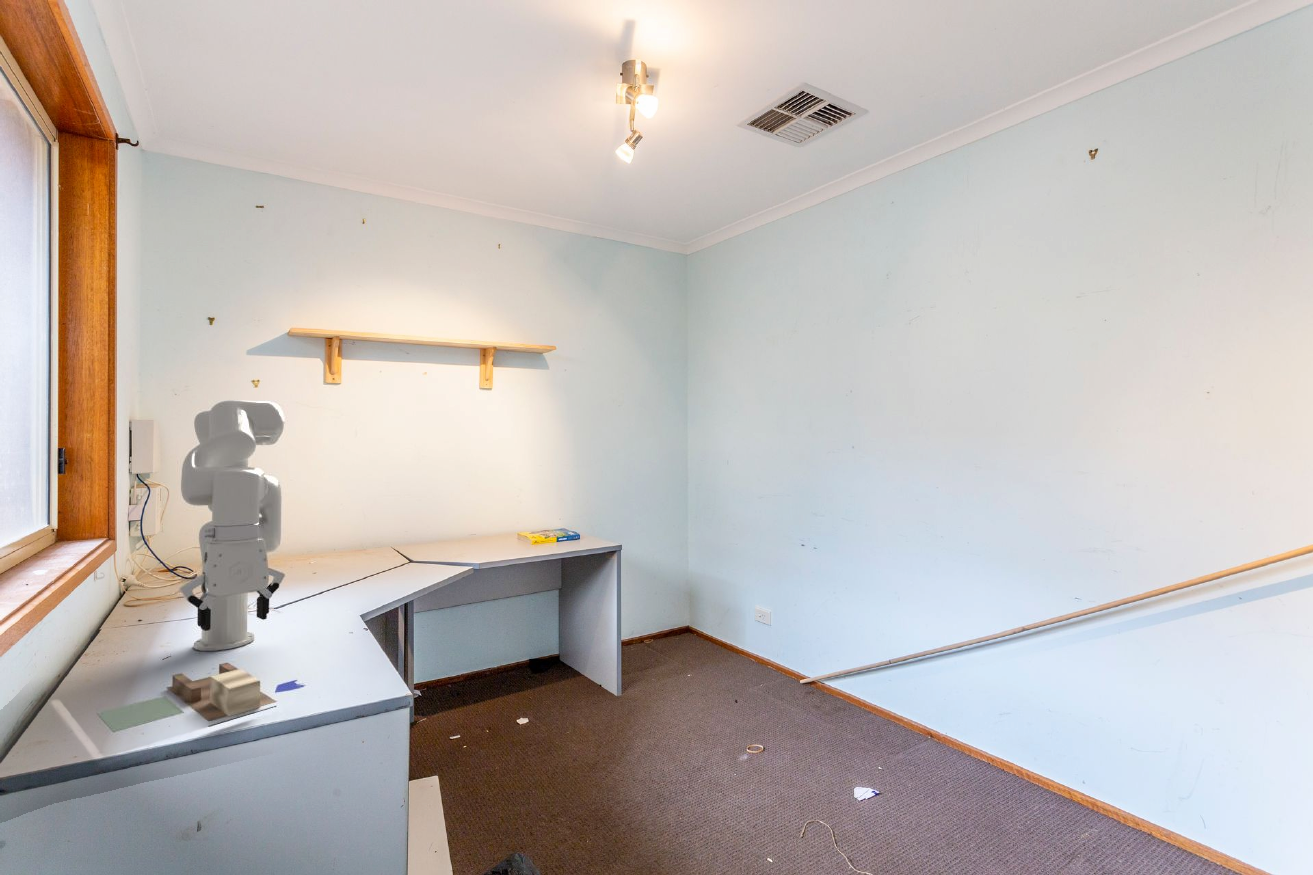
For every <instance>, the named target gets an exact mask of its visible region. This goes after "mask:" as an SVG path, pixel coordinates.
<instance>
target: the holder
mask: <svg viewBox="0 0 1313 875" xmlns="http://www.w3.org/2000/svg"><path fill="white" fill-rule="evenodd" d="M218 668H219V669H218V674H221V673H226V672H230V671H234V670H238V669H239V668H238V667H236V666H234V665H233V664H231V663H229V662H223V663H220V664H219V666H218ZM171 677H172V680H171V681H172V683H171V685H172V686H168V687H166V689H168V690H169V691H170V692H171V693H172V694H174V696H176V697H177V698H179V699H180V700H181V701H182V702H184V703H185V704H186V705H187V706H189V707H190V708H191V709H193V711H195V712H196V713H197V714H199V715H200V716H201V717H202V718H204V719H205V720H206V721H208V722H212V721H216V720H219V719H223V718H225V717H229V716H228V715H226V714H225V713H224V712H222V711H221V710H220V709H218V708H217V707H216V706H214V705H213V704H212V703H210V676H208V677H203V678H200V679H196V680H195V679H194V680H192V679H191V678H189V677H187V676H186V675H185V674H183V672H181V673H177V674H174V675H172V676H171ZM276 702H277V701H276V700H275V699H274V698H272V697H271V696H268V695H267V694H265V692H262V691H261V690H260V707H264V706H267V705H270V704H273V703H276ZM273 708H277V705H274V706H270V707H267V708H264V709H260V710H257V711H254V712H251V713H246V714H244V715H240V716H236V717H234V718H231V719H227V720H224V721H221V722H217V723H215V724H211V725H208V726H207V727H208V728H210V727H213V726H216V725H220V724H222V723H225V722H226V723H227V722H229V721H233V720H236V719H240V718H243V717H246V716H250V715H252V714H256V713H259V712H263V711H266V710H271V709H273Z"/></svg>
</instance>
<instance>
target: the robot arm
mask: <svg viewBox="0 0 1313 875" xmlns="http://www.w3.org/2000/svg"><path fill="white" fill-rule="evenodd" d="M193 423H194V431H195V435H196V437H197V440H198V442H199V444H198V445H195V447H194V448H192V449H191V450H190V451H189V452H188V453H187V455H186V456H185V457H184V460H183V463H182V465H181V466H182V468H181V477H180V478H181V480H180V492H181V497H182V498H183V500H184V501H185V503H187V504H189V505H192V506H195V507H196V506H197V507H199V506H201V507H202V506H203V507H204V506H207V507H208V510H209V511H210V512H211V514H212V515H211V521H207V522H206V523H205V524H202V526H201V528H200V530H199V531H198V532H199V533H198V542H199V543H198V544H199V549H200V556H201V563H202V564H201V566H202V570H201V575H199V576H197V577H195V578H194V579H191V580H190V581H188V582H187V583H185V584H183V585H182V586H180V587H179V592H180V593H181V594H182V596H183V597H184V598H185V599H186V601H187V602H188V603H190V604H192V605H193V606H195V608H197V626H198V627H200V629H201V638H199V639H197V640H196V641H195V642H194V643H193V649H195V650H196V651H201V652H206V651H207V652H214V651H223V650H230V649H234V648H238V647H242V646H245V645H247V644H250V643H252V642H253V641H254V640H255V634H254V633H252V632H250V631H248V610H249V609H248V607H249V606H248V602H249V599H248V596H249V594H248V593H253V592H254V593H255V592H256V593H258V596H257V598H256V618H258V619H260V620H263V621H264V620H267V618H268V615H267V614H269V612H270V599H271V598H272V597H273V594H274V593H275V592H276V591H277V590H278V589H279V588H280V584H281V583H282V581H283V580H284V579H285V577H286V574H285V573H284V572H282V571H281V572H280V571H278V570H276V569H273V568H272V567H271V568H270V567H269V562H268V554H269V553H273V552H275V551H277V549H279V547H280V545H281V538H282V488H281V484H280V481H278V479H277V478H276V477H274V476H269V475H267V474H265V473H264V471H263V470H262V469H261V468H258V467H253V466H252V467H251V466H250V467H249V466H248V465H249V458H250V457H251V456H252V455H253V454H254V452H255V451H256V448H257V446H271V445H274V444H276V443H277V441H279V439H280V437H281V436H282V433H283V432H284V431H283V430H284V428H285V416H284V413H283V411H282V409H281V407H280V406H279V405H278V404H276V403H274V402H271V401H262V400H261V401H258V400H257V401H256V400H238V399H237V400H235V399H234V400H230V399H229V400H223V401H220V402H218V403H216V404H214V405H213V407H211V409H210V410H204V411H201V412H199V413H197V414H196V415H195V418H194V421H193ZM260 515H261V516H260ZM270 577H273V579H272V582H270V583H269V578H270ZM198 587H200V588H201V593H202V594H201V596H200V597H197V596H196V595H195V594H194V592H193V590H195V589H197V588H198Z"/></svg>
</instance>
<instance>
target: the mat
mask: <svg viewBox="0 0 1313 875" xmlns="http://www.w3.org/2000/svg"><path fill="white" fill-rule="evenodd" d="M184 713H185V712H184V711H183V710H182V709H181V708H180V707H179V706H178V705H177V704H175V703H174V702H173V701H171V699H169V698H168V697H167V696H166V695H164V696H159V697H155V698H151V699H148V700H143V701H140V702H135V703H132V704H128V705H124V706H120V707H117V708H112V709H108V710H104V711H100V712H97V716H98V717H99V718H101V720H102V721H103V722H104V723H105V725H106V726H108V728H109V729H110V730H111V732H113V733H115V732H119V731H122V730H126V729H129V728H133V727H137V726H141V725H145V724H148V723H151V722H156V721H158V720H162V719H166V718H169V717H172V716H176V715H180V714H184Z"/></svg>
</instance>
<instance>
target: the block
mask: <svg viewBox="0 0 1313 875" xmlns="http://www.w3.org/2000/svg"><path fill="white" fill-rule="evenodd" d="M209 677H210V703H212V704H213V705H214V706H216V707H217V708H218V709H220V710H221V711H222V712H224V713H225V714H226V715H228V716H227V717H232V716H235V715H238V714H243V713H245V712H246V713H247V712H248V711H252V710H257V709H260V707H261V706H260V691H261V680H260V679H258V678H256V677H255V676H253V675H252V674H249V673H248V672H247V671H245V670H243V669H241V668H238V670H234V671H230V672H226V673H221V674H219V673H218V674H213V675H210V676H209Z"/></svg>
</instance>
